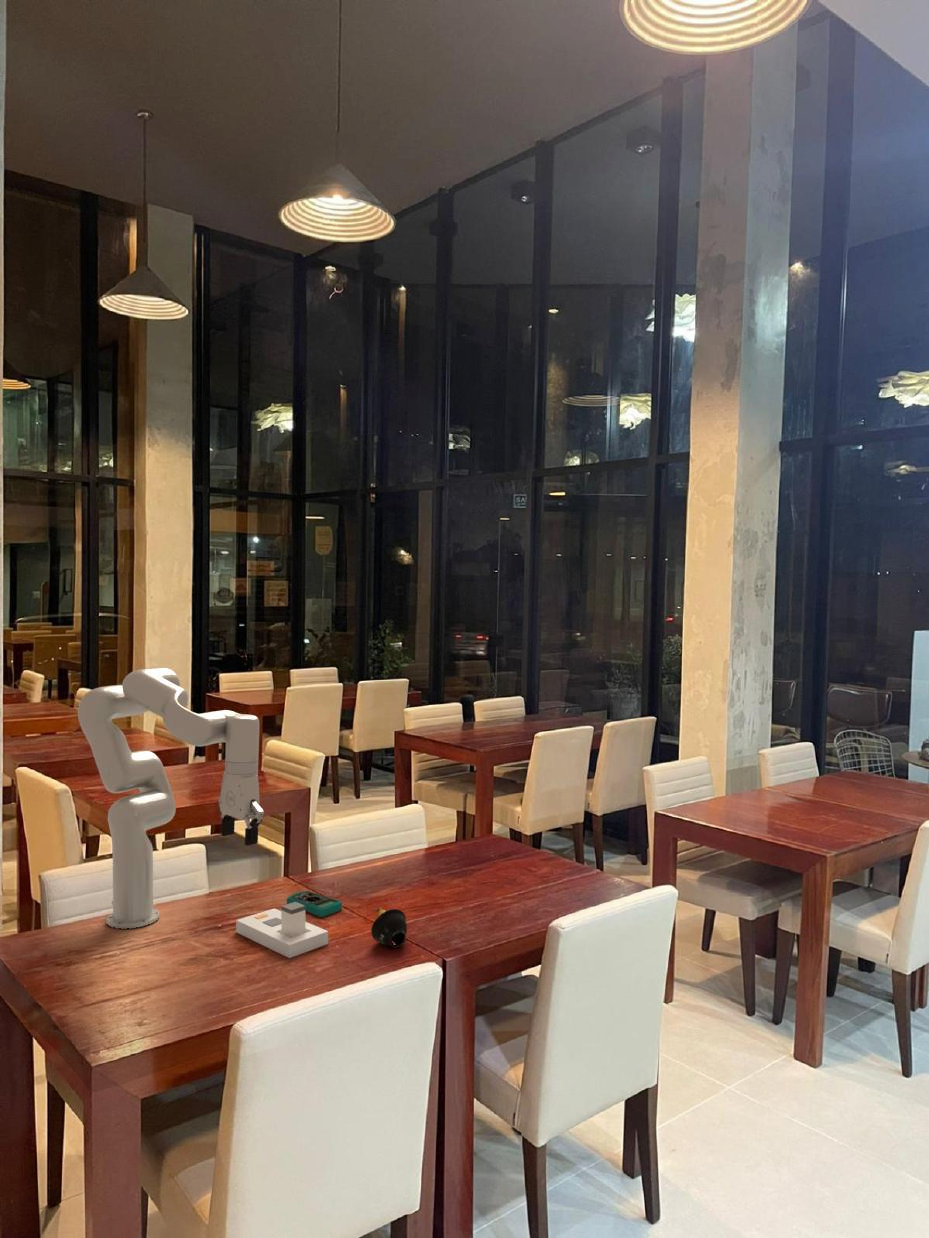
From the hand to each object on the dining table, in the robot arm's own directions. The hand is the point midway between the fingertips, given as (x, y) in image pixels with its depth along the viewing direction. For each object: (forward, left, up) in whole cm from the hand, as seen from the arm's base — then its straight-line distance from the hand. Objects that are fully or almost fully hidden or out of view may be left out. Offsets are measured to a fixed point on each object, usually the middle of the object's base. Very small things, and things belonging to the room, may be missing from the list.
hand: (239, 839), depth 200 cm
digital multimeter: (-7, +27, -25) cm, 37 cm away
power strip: (+5, +9, -25) cm, 26 cm away
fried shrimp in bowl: (+23, +26, -25) cm, 43 cm away
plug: (+9, +9, -25) cm, 28 cm away
